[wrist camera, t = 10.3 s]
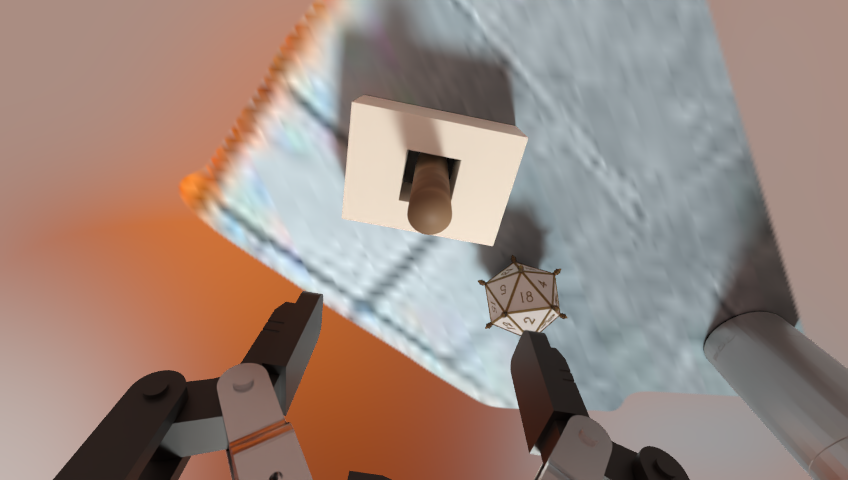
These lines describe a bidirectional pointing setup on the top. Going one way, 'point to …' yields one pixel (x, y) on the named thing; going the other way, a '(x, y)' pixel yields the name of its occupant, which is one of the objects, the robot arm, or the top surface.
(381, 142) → the hole block
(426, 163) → the peg
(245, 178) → the top surface
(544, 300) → the game die
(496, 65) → the top surface
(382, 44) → the top surface
